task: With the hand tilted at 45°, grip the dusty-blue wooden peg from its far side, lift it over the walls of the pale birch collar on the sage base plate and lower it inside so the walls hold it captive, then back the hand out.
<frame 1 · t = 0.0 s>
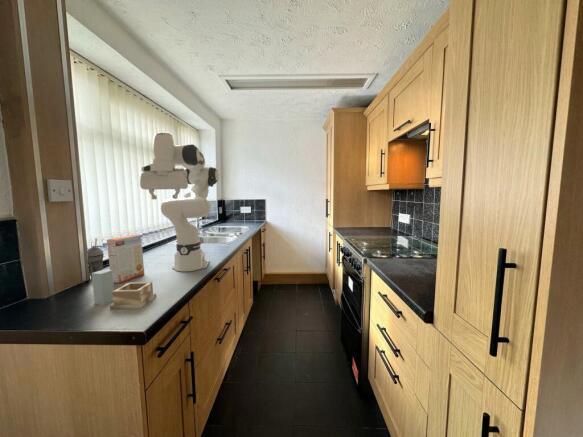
hand: (164, 199, 116), 39 cm above the countertop, tool pointing down, fingers open, 8 cm apart
cup collar: (134, 302, 98), on the countertop
cracker box: (128, 278, 127), on the countertop
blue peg: (104, 302, 99), on the countertop
beverage cup: (96, 278, 129), on the countertop
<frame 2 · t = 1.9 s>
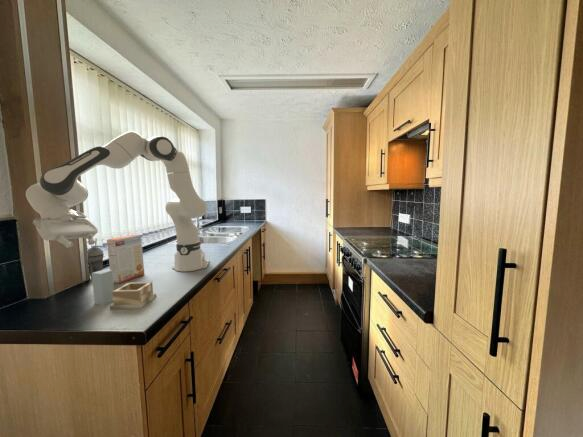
hand: (82, 244, 99), 22 cm above the countertop, tool tilted 45°, fingers open, 8 cm apart
nothing on the countertop moved.
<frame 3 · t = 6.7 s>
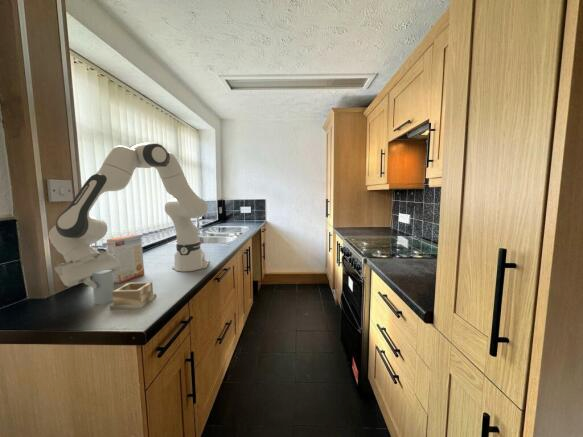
hand: (104, 284, 98), 7 cm above the countertop, tool tilted 45°, fingers closed on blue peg, 4 cm apart
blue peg: (104, 301, 99), on the countertop, touching gripper
everything else where it was.
when the fingers open (10 cm above the countertop, at t = 13.7 s): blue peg drops 1 cm, resting on cup collar.
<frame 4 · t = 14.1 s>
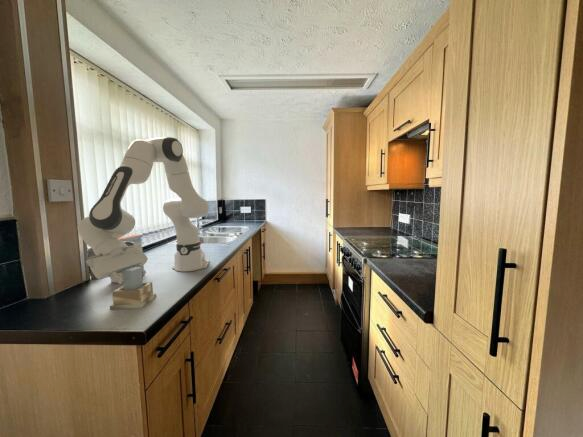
hand: (133, 278, 97), 10 cm above the countertop, tool tilted 45°, fingers open, 8 cm apart
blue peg: (134, 299, 98), point 1 cm above the countertop, touching cup collar
everything else where it was.
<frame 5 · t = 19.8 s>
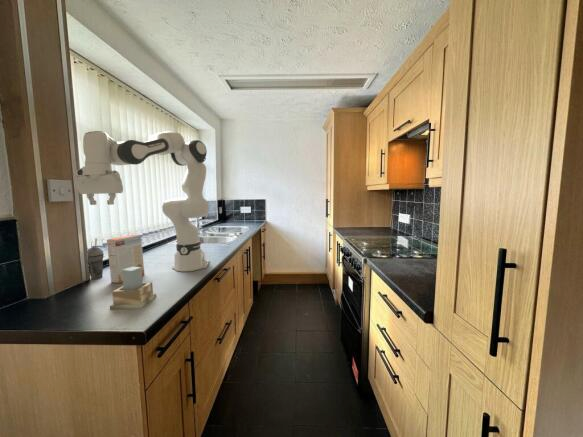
hand: (101, 204, 107), 37 cm above the countertop, tool pointing down, fingers open, 8 cm apart
nothing on the countertop moved.
at the end: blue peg 0.1 cm off-centre on the cup collar, point 1.2 cm above the cup collar's base; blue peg tilted 0°; the gripper is holding nothing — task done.
